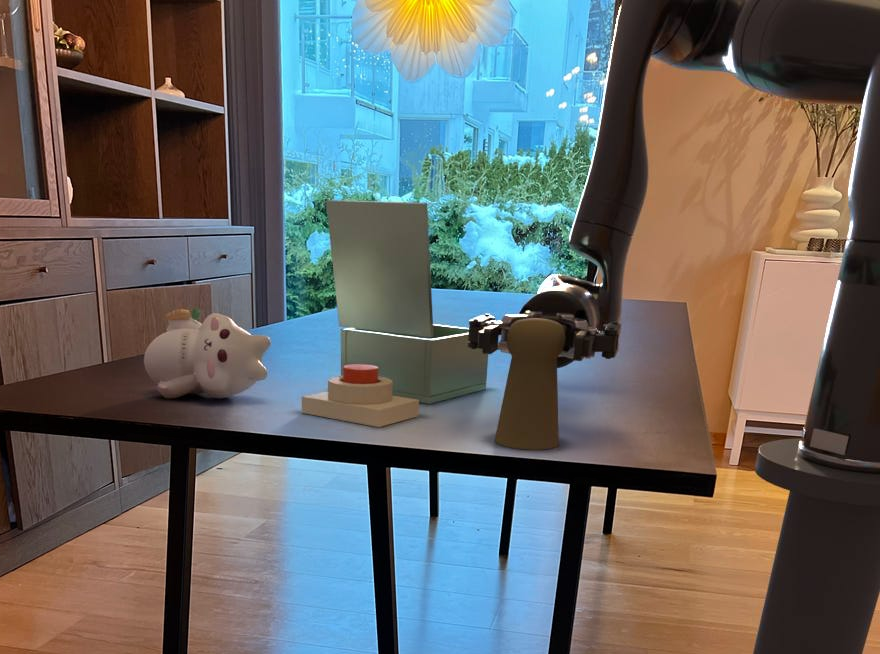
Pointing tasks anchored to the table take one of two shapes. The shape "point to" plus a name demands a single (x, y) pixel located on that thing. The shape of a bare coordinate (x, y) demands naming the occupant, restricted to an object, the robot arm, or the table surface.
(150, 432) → the table surface
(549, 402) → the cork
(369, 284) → the box lid
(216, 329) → the cat figurine
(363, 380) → the button
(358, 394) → the panel
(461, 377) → the open box
